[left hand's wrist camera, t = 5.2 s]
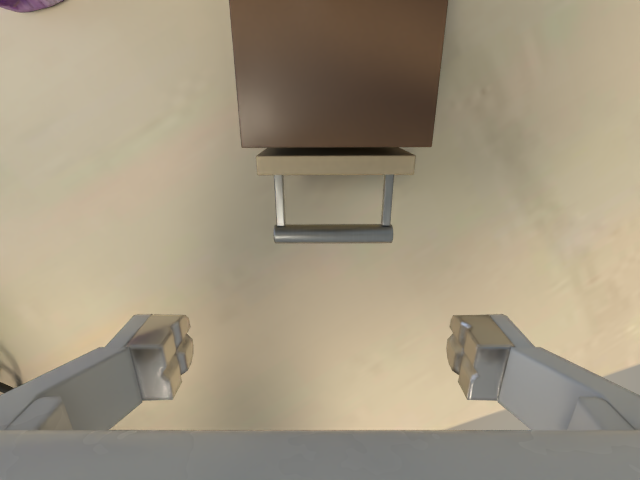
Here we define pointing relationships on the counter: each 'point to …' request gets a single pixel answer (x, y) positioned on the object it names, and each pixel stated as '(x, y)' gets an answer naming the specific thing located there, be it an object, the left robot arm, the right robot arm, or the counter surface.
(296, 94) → the cabinet
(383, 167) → the drawer
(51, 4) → the figurine
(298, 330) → the counter surface
